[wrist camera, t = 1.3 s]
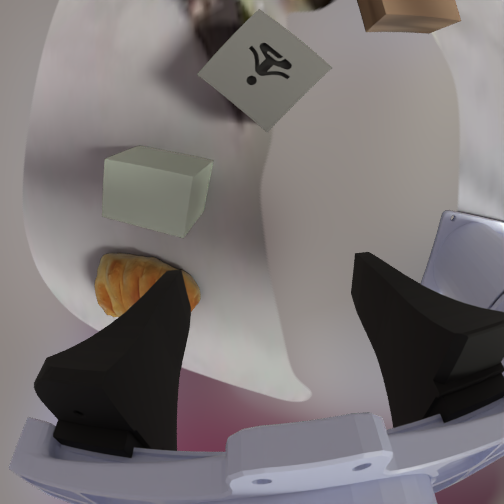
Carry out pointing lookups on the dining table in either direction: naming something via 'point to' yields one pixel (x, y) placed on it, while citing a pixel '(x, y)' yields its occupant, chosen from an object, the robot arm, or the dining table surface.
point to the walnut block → (408, 15)
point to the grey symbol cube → (264, 69)
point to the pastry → (132, 281)
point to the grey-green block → (155, 189)
